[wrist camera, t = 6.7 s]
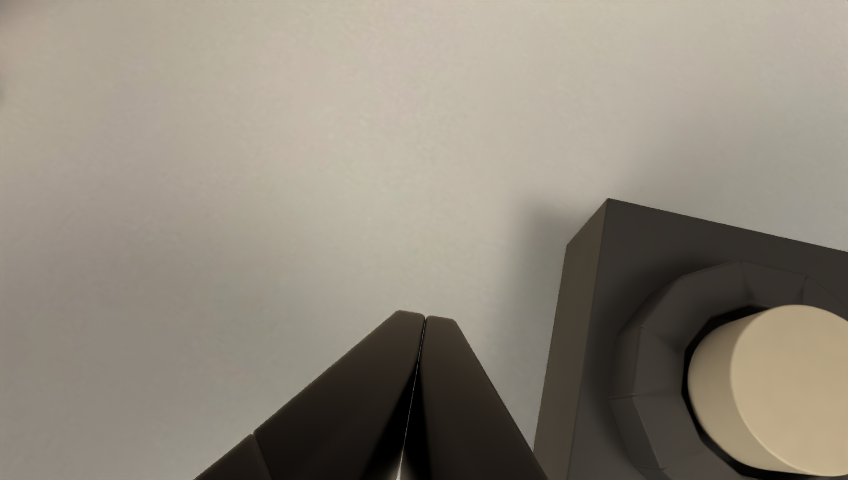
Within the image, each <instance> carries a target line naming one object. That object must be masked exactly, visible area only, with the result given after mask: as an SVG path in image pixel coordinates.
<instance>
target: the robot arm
mask: <svg viewBox="0 0 848 480" xmlns="http://www.w3.org/2000/svg"><path fill="white" fill-rule="evenodd" d="M424 324H425V326H424ZM423 330H424V332H423ZM422 336H423V338H422ZM421 342H422V344H421ZM420 347H421V349H420ZM419 353H420V355H419ZM418 359H419V361H418ZM417 365H418V367H417ZM416 371H417V373H416ZM415 377H416V379H415ZM414 382H415V385H414ZM413 388H414V390H413ZM412 394H413V396H412ZM411 400H412V402H411ZM410 406H411V408H410ZM409 412H410V414H409ZM408 417H409V420H408ZM407 423H408V425H407ZM406 429H407V431H406ZM405 435H406V437H405ZM404 441H405V443H404ZM403 446H404V449H403ZM402 452H403V455H402ZM401 457H402V463H401V471H400V480H549V479H548V478H547V476H546V474H545V473H544V471H543V469H542V468H541V466H540V464H539V462H538V461H537V459H536V457H535V456H534V454H533V452H532V451H531V449H530V447H529V445H528V444H527V442H526V440H525V439H524V437H523V435H522V434H521V432H520V430H519V428H518V427H517V425H516V423H515V422H514V420H513V418H512V417H511V415H510V413H509V411H508V410H507V408H506V406H505V405H504V403H503V401H502V400H501V398H500V396H499V394H498V393H497V391H496V389H495V388H494V386H493V384H492V382H491V381H490V379H489V377H488V376H487V374H486V372H485V371H484V369H483V367H482V365H481V364H480V362H479V360H478V359H477V357H476V355H475V354H474V352H473V350H472V348H471V347H470V345H469V343H468V342H467V340H466V338H465V337H464V335H463V333H462V331H461V330H460V328H459V326H458V325H457V323H456V322H455V321H454V320H453V319H449V318H443V317H437V316H428V317H427V318H426V320H425V316H424V315H423V314H420V313H414V312H408V311H403V310H398V311H396V312H395V313H394V314H392V315H391V316H390V317H389V318H388V319H387V320H385V321H384V322H383V323H382V324H381V325H379V326H378V327H377V328H376V329H375V330H373V331H372V332H371V333H370V334H369V335H367V336H366V337H365V338H364V339H363V340H362V341H360V342H359V343H358V344H357V345H356V346H354V347H353V348H352V349H351V350H350V351H348V352H347V353H346V354H345V355H344V356H342V357H341V358H340V359H339V360H338V361H337V362H335V363H334V364H333V365H332V366H331V367H329V368H328V369H327V370H326V371H325V372H323V373H322V374H321V375H320V376H319V377H318V378H316V379H315V380H314V381H313V382H312V383H310V384H309V385H308V386H307V387H306V388H304V389H303V390H302V391H301V392H300V393H298V394H297V395H296V396H295V397H294V398H293V399H291V400H290V401H289V402H288V403H287V404H285V405H284V406H283V407H282V408H281V409H279V410H278V411H277V412H276V413H275V414H273V415H272V416H271V417H270V418H269V419H268V420H266V421H265V422H264V423H263V424H262V425H260V426H259V427H258V428H257V429H256V430H255V431H254V433H253V434H250V435H248V436H247V437H246V438H244V439H243V440H242V441H241V442H240V443H239V444H237V445H236V446H235V447H234V448H233V449H231V450H230V451H229V452H228V453H227V454H225V455H224V456H223V457H221V458H220V459H219V460H218V461H216V462H215V463H214V464H213V465H211V466H210V467H209V468H208V469H206V470H205V471H204V472H203V473H201V474H200V475H199V476H197V477H196V478H195V479H194V480H396V478H397V474H398V471H399V467H400V462H401Z"/></svg>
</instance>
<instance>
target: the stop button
mask: <svg viewBox="0 0 848 480" xmlns="http://www.w3.org/2000/svg"><path fill="white" fill-rule="evenodd" d="M688 394H689V399H690V403H691V406H692V409H693V412H694V414H695V416H696V419H697V421H698V423H699V424H700V426H701V427H702V429H703V431H704V432H705V433H706V435H707V436H708V437H709V438H710V440H711V441H712V442H713V443H714V444H715V445H716V446H717V447H718V448H719V449H721V450H722V451H723V452H724V453H726V454H727V455H728V456H730V457H732V458H733V459H735V460H737V461H739V462H741V463H743V464H745V465H748V466H751V467H754V468H759V469H764V470H772V471H781V472H790V473H799V474H808V475H817V476H841V475H846V474H848V322H847V321H846V320H844V319H843V318H841V317H839V316H837V315H835V314H833V313H831V312H828V311H826V310H823V309H819V308H816V307H812V306H806V305H784V306H779V307H775V308H771V309H768V310H765V311H762V312H759V313H756V314H753V315H750V316H747V317H744V318H741V319H738V320H735V321H732V322H729V323H727V324H724V325H722V326H719V327H718V328H716V329H714V330H712V331H711V332H710V333H709V334H708V335H706V336H705V337H704V339H703V340H702V341H701V342H700V343H699V345H698V346H697V348H696V349H695V351H694V354H693V356H692V358H691V362H690V365H689V370H688Z"/></svg>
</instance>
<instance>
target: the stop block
mask: <svg viewBox="0 0 848 480" xmlns="http://www.w3.org/2000/svg"><path fill="white" fill-rule="evenodd" d="M784 305H806V306H812V307H816V308H819V309H823V310H826V311H828V312H831V313H833V314H835V315H837V316H839V317H841V318H843V319H844V320H846V321H847V322H848V252H845V251H841V250H836V249H832V248H828V247H823V246H819V245H814V244H810V243H805V242H801V241H797V240H792V239H788V238H783V237H779V236H774V235H770V234H765V233H761V232H757V231H752V230H748V229H743V228H739V227H734V226H730V225H726V224H721V223H717V222H712V221H708V220H703V219H699V218H695V217H690V216H686V215H681V214H677V213H672V212H668V211H664V210H659V209H655V208H650V207H646V206H641V205H637V204H633V203H628V202H624V201H619V200H615V199H610V198H608V199H607V200H606V201H605V202H604V203H603V204H602V205H601V207H600V208H599V209H598V210H597V211H596V212H595V213H594V215H593V216H592V217H591V218H590V219H589V220H588V222H587V223H586V224H585V225H584V226H583V227H582V228H581V230H580V231H579V232H578V233H577V234H576V235H575V236H574V238H573V239H572V240H571V241H570V242H569V243H568V245H567V248H566V254H565V260H564V266H563V272H562V278H561V284H560V290H559V296H558V302H557V309H556V315H555V321H554V327H553V333H552V339H551V345H550V351H549V357H548V363H547V369H546V375H545V382H544V388H543V394H542V400H541V406H540V412H539V418H538V424H537V430H536V436H535V442H534V449H533V454H534V456H535V457H536V459H537V461H538V462H539V464H540V466H541V468H542V469H543V471H544V473H545V474H546V476H547V478H548V479H549V480H848V474H846V475H841V476H817V475H808V474H799V473H790V472H781V471H772V470H764V469H759V468H754V467H751V466H748V465H745V464H743V463H741V462H739V461H737V460H735V459H733V458H732V457H730V456H728V455H727V454H726V453H724V452H723V451H722V450H721V449H719V448H718V447H717V446H716V445H715V444H714V443H713V442H712V441H711V440H710V438H709V437H708V436H707V435H706V433H705V432H704V431H703V429H702V427H701V426H700V424H699V423H698V421H697V419H696V416H695V414H694V412H693V409H692V406H691V403H690V399H689V394H688V370H689V365H690V362H691V358H692V356H693V354H694V351H695V349H696V348H697V346H698V345H699V343H700V342H701V341H702V340H703V339H704V337H705V336H706V335H708V334H709V333H710V332H711V331H712V330H714V329H716V328H718V327H719V326H722V325H724V324H727V323H729V322H732V321H735V320H738V319H741V318H744V317H747V316H750V315H753V314H756V313H759V312H762V311H765V310H768V309H771V308H775V307H779V306H784Z"/></svg>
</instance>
